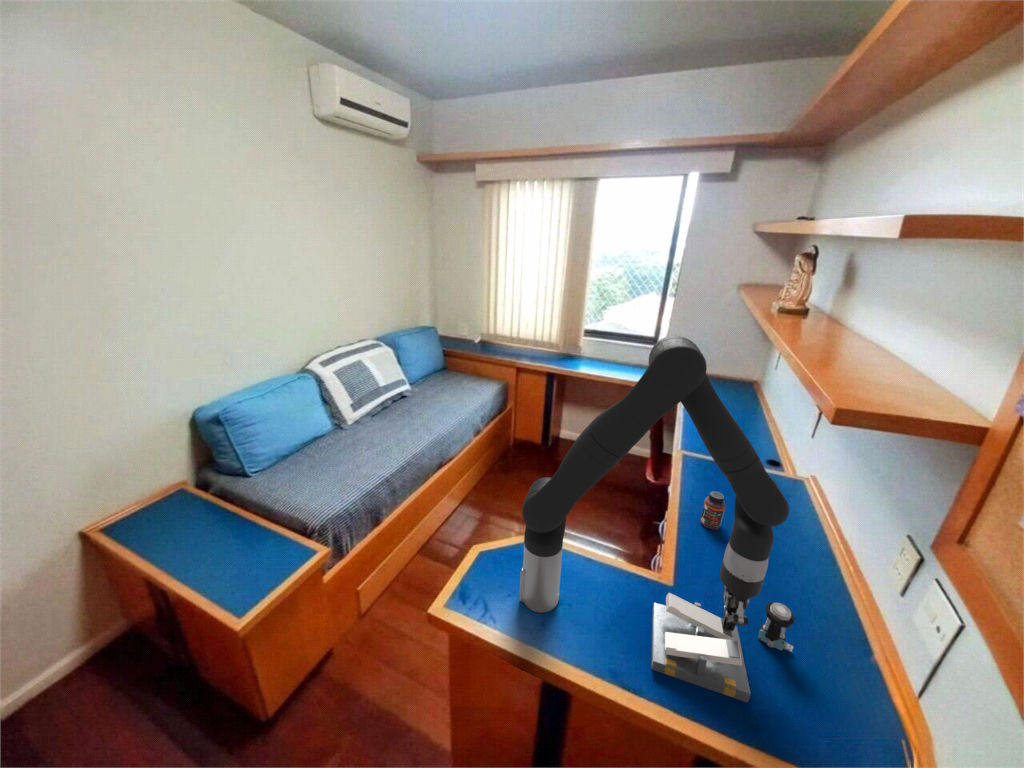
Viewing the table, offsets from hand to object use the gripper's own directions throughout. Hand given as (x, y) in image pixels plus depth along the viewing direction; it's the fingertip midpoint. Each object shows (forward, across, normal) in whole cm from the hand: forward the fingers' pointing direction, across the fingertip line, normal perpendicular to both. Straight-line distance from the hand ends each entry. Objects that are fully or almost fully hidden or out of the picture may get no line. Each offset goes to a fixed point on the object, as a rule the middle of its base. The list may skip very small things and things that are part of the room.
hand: (727, 627), depth 85 cm
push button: (+6, -4, +11) cm, 13 cm away
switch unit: (+6, +4, -6) cm, 9 cm away
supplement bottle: (+6, -44, +2) cm, 44 cm away
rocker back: (0, 0, -6) cm, 6 cm away
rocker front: (0, +8, -6) cm, 10 cm away
